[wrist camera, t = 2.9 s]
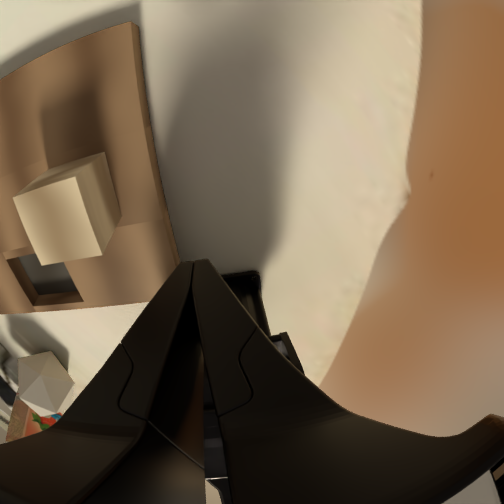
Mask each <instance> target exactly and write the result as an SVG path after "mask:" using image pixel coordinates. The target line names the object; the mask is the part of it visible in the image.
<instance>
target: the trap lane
mask: <svg viewBox="0 0 504 504" xmlns="http://www.w3.org/2000/svg"><path fill="white" fill-rule="evenodd" d="M102 152H105V155H106V159H107V164H108V168H109V172H110V176H111V179H112V183H113V187H114V191H115V194H116V198H117V201H118V205H119V208H120V212H121V215H122V217H121V219H120V221H119V223H118V225H117V226H116V228H115V230H114V232H113V234H112V236H111V238H110V240H109V243H108V245H107V247H106V249H105V251H104V253H103V255H100V256H94V257H88V258H83V259H77V260H71V261H65V262H59V263H54V264H48V265H41V263H40V261H39V259H38V257H37V255H36V253H35V251H34V248H33V246H32V244H31V242H30V240H29V237H28V235H27V233H26V231H25V228H24V226H23V223H22V221H21V218H20V216H19V213H18V211H17V208H16V205H15V203H14V200H13V197H14V196H15V195H16V194H18V193H19V192H20V191H21V190H22V189H24V188H25V187H26V186H27V185H28V184H30V183H31V182H32V181H34V180H35V179H36V178H37V177H39V176H40V175H41V174H43V173H44V172H45V171H47V170H48V169H51V168H53V167H56V166H59V165H62V164H65V163H68V162H72V161H75V160H78V159H81V158H85V157H88V156H91V155H95V154H99V153H102ZM179 263H181V262H180V259H179V255H178V251H177V247H176V243H175V239H174V235H173V231H172V227H171V223H170V219H169V214H168V210H167V206H166V201H165V197H164V192H163V187H162V183H161V178H160V173H159V168H158V163H157V158H156V152H155V147H154V141H153V136H152V130H151V124H150V118H149V111H148V104H147V98H146V90H145V83H144V75H143V66H142V57H141V48H140V37H139V27H138V26H137V25H135V24H134V23H133V22H131V21H130V22H126V23H123V24H120V25H116V26H113V27H110V28H107V29H104V30H101V31H98V32H95V33H93V34H90V35H87V36H85V37H82V38H80V39H77V40H75V41H72V42H70V43H68V44H65V45H63V46H61V47H59V48H57V49H54V50H52V51H50V52H48V53H46V54H44V55H42V56H40V57H38V58H36V59H35V60H33V61H31V62H29V63H27V64H25V65H24V66H22V67H20V68H18V69H17V70H15V71H13V72H12V73H10V74H9V75H7V76H5V77H4V78H2V79H1V80H0V314H15V313H31V312H46V311H59V310H71V309H83V308H94V307H104V306H114V305H124V304H133V303H142V302H150V301H151V299H152V298H153V297H154V295H155V294H156V293H157V291H158V290H159V289H160V287H161V286H162V285H163V283H164V282H165V281H166V280H167V278H168V277H169V276H170V274H171V273H172V272H173V271H174V269H175V268H176V267H177V265H178V264H179Z"/></svg>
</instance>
